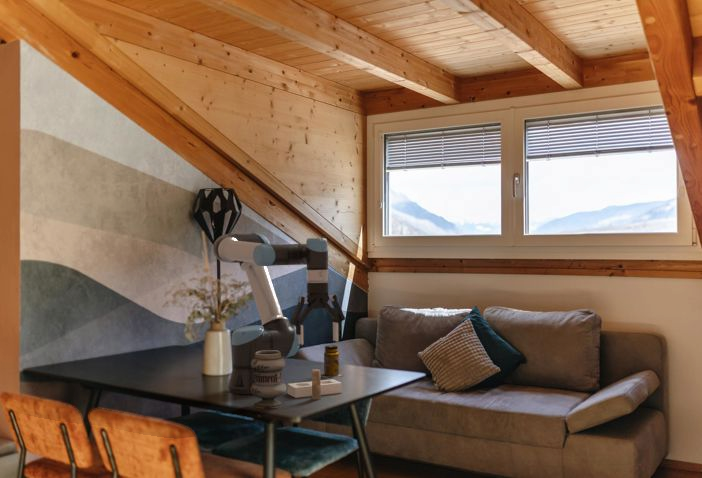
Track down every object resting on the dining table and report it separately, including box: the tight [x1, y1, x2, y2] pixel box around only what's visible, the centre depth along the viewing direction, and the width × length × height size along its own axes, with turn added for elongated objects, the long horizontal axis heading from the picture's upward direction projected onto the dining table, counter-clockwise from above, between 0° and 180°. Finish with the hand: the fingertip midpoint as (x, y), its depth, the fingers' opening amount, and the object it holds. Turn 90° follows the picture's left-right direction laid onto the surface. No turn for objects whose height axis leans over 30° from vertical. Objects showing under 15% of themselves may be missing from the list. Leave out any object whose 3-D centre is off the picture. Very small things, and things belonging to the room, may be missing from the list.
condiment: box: [320, 344, 343, 378], centre depth 292 cm, size 7×8×12 cm
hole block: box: [286, 378, 343, 399], centre depth 258 cm, size 18×8×4 cm, turn 115°
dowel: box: [311, 368, 322, 401], centre depth 248 cm, size 3×3×10 cm
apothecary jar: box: [250, 350, 288, 410], centre depth 239 cm, size 12×12×18 cm
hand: (318, 342), depth 251 cm, fingers open, 13 cm apart
